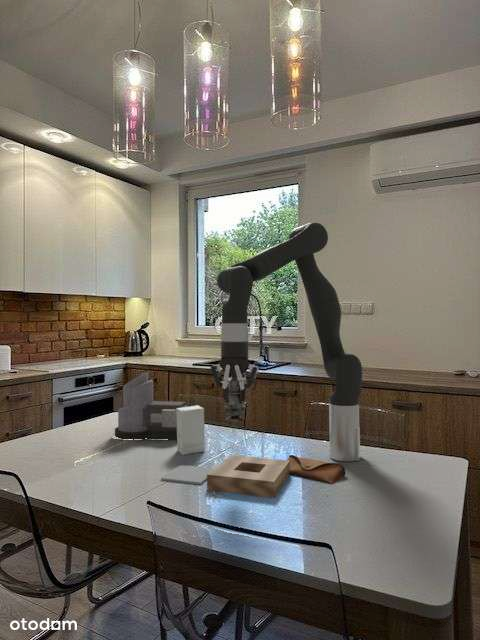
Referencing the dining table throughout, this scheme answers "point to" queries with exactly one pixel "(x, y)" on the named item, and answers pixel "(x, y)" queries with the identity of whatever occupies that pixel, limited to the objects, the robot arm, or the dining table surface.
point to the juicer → (146, 413)
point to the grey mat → (188, 474)
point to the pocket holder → (249, 476)
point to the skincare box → (190, 429)
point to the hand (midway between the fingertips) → (234, 402)
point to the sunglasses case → (316, 469)
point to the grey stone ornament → (234, 402)
